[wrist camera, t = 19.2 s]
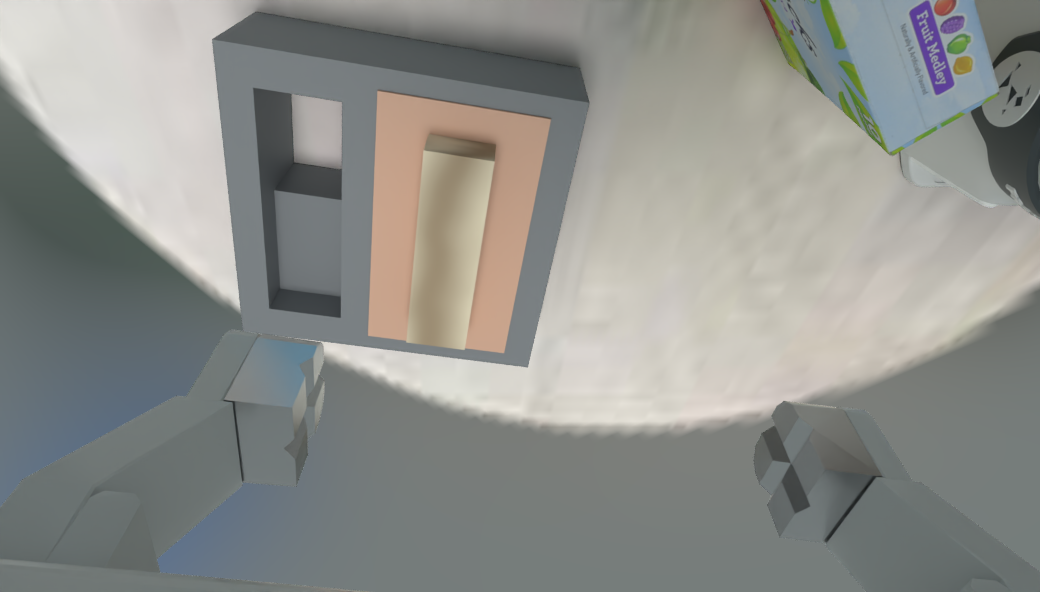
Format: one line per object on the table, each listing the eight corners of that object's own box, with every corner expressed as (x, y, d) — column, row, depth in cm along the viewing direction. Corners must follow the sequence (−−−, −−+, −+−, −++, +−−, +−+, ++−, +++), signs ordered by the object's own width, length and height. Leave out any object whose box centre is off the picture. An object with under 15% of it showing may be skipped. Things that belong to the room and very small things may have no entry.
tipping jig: (579, 68, 42) (589, 104, 36) (526, 312, 54) (527, 369, 48) (255, 11, 40) (210, 40, 34) (273, 277, 52) (242, 333, 46)
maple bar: (495, 144, 38) (494, 161, 36) (467, 327, 46) (464, 350, 44) (428, 133, 37) (423, 150, 35) (411, 320, 45) (406, 342, 43)
